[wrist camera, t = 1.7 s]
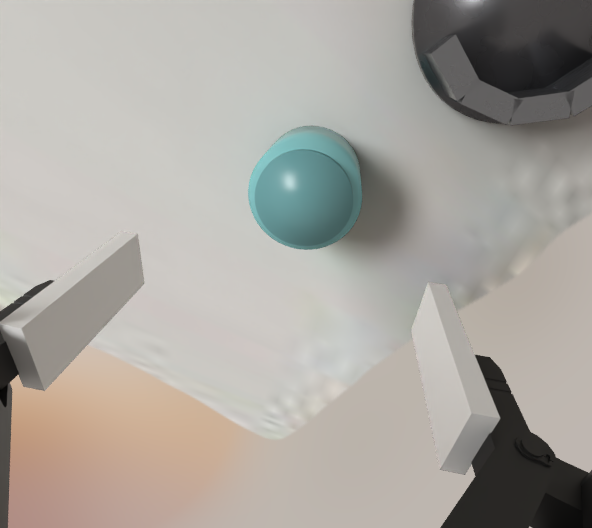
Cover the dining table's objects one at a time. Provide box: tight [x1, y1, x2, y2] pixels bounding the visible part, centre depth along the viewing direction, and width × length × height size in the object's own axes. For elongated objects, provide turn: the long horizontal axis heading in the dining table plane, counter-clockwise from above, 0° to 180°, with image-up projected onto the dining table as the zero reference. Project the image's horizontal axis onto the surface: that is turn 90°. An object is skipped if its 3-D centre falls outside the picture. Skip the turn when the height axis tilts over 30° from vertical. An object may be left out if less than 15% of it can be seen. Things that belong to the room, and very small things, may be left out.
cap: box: [248, 126, 362, 250], centre depth 27 cm, size 8×8×6 cm
